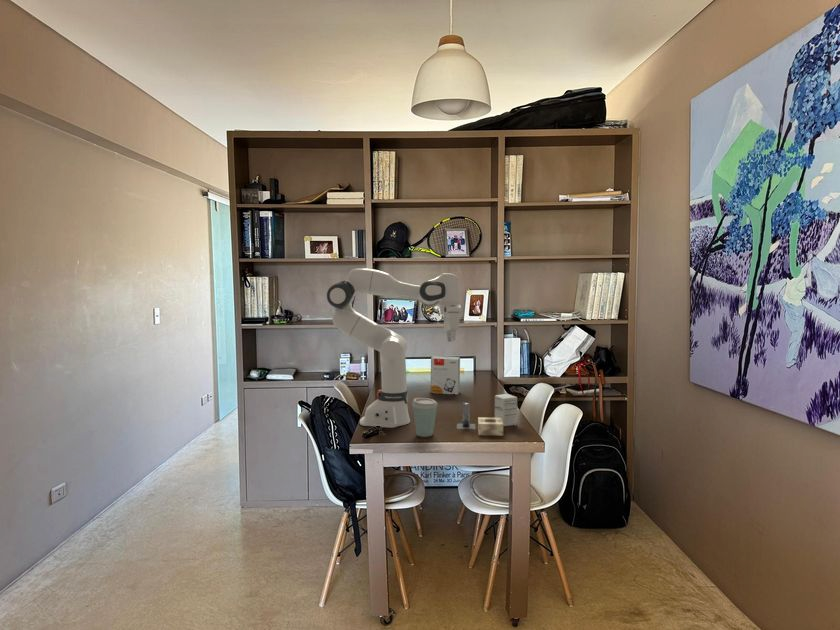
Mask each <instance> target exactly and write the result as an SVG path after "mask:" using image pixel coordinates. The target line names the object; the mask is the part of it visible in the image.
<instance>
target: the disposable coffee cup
mask: <svg viewBox="0 0 840 630" xmlns="http://www.w3.org/2000/svg"><path fill="white" fill-rule="evenodd" d="M411 406H412V413H413V420H414V428H415V432H416V435H417V437H423V438H427V437H431V436H433V434H434V428H435V424H436V423H435V421H436V416H437V410H438V409H437V408H438V401H436V400H435V399H432V398H427V397H416V398H413V401H412V402H411Z"/></svg>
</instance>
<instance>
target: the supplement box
mask: <svg viewBox="0 0 840 630" xmlns="http://www.w3.org/2000/svg"><path fill="white" fill-rule="evenodd" d="M494 418H502V421H503V427H507V426H512V427H513V425H514V426H517V424H518V420H517V419H518V397H517V396H515V395H512V394H509V393H504V394H496V395H495V394H494Z"/></svg>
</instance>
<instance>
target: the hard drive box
mask: <svg viewBox="0 0 840 630" xmlns="http://www.w3.org/2000/svg"><path fill="white" fill-rule="evenodd" d="M460 373H461V357H459V356H458V357H457V356H443V355H442V356H441V355H440V356H439V355H437V356H436V355H433V356H432V357H431V358H430V393H431V394H435V395H436V394H440V395H451V394H452V395H453V394H455V395H456V396H457V395H459V394H460V392H461V391H460V388H461V385H460V383H461V379H460V377H461V375H460Z"/></svg>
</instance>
